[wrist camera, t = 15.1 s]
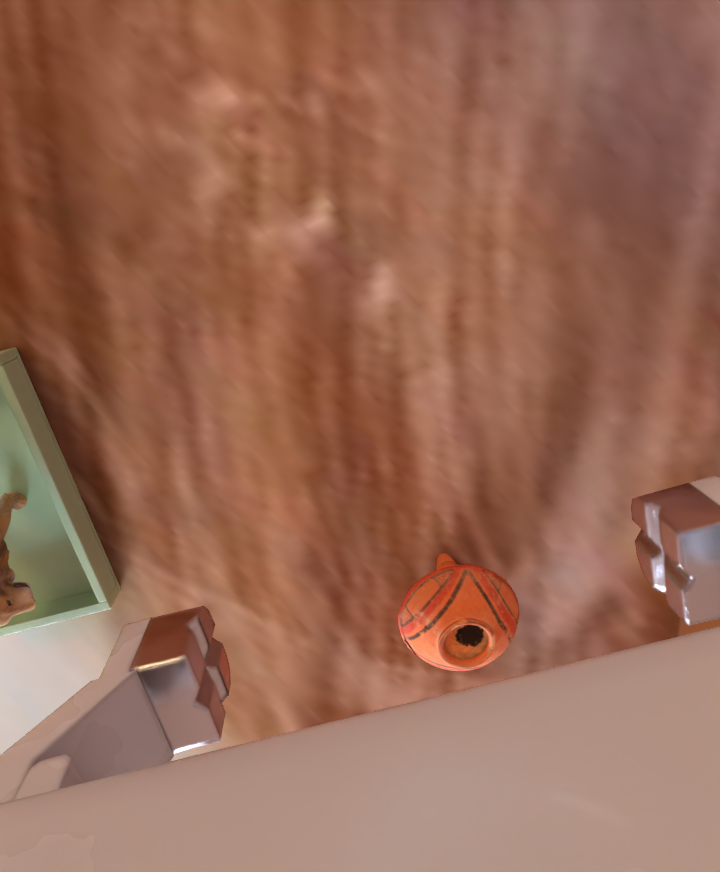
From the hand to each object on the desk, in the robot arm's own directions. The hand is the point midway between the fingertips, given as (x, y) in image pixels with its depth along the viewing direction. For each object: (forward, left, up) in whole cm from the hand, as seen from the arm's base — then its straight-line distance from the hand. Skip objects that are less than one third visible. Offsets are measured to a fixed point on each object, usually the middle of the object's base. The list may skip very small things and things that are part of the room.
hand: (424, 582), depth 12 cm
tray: (+5, -24, -29) cm, 38 cm away
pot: (+20, +2, -29) cm, 35 cm away
